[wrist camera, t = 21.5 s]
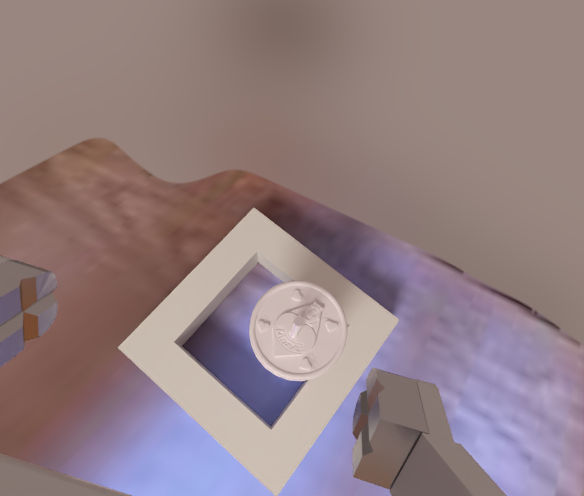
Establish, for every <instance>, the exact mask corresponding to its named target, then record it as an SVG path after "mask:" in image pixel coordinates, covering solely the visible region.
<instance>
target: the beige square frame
mask: <svg viewBox="0 0 584 496" xmlns="http://www.w3.org/2000/svg"><path fill="white" fill-rule="evenodd" d="M258 262H259V263H260V264H261V265H262V266H264V267H265V268H266V269H267V270H269V271H270V272H271V273H272V274H274V275H275V276H276V277H277V278H279V279H280V280H281V281H282V282H288V281H295V280H301V281H308V282H312V283H315V284H317V285H320V286H322V287H323V288H325V289H326V290H328V291H329V292H330V293H331V294H332V295H333V296H334V297H335V298H336V299H337V300H338V302H339V303H340V305H341V307H342V309H343V311H344V313H345V316H346V320H347V327H348V335H347V342H346V345H345V348H344V351H343V353H342V355H341V357H340V358H339V360H338V361H337V362H336V364H335V365H334V366H332V367H331V368H330V369H329V370H328V371H327V372H326V373H324V374H322V375H320V376H319V377H317V378H315V379H310V380H305V381H304V383H303V384H302V385H301V387H300V388H299V389H298V391H297V392H296V393H295V395H294V396H293V398H292V399H291V400H290V402H289V403H288V404H287V406H286V407H285V408H284V410H283V411H282V412H281V414H280V415H279V416H278V418H277V419H276V420H275V422H274V423H273V424H272V426H270V425H269V424H268V423H267V422H266V421H264V420H263V419H262V418H261V417H260V416H259V415H258V414H257V413H256V412H254V411H253V410H252V409H251V408H250V407H249V406H248V405H247V404H246V403H244V402H243V401H242V400H241V399H240V398H239V397H238V396H237V395H236V394H234V393H233V392H232V391H231V390H230V389H229V388H228V387H227V386H226V385H224V384H223V383H222V382H221V381H220V380H219V379H218V378H217V377H216V376H215V375H213V374H212V373H211V372H210V371H209V370H208V369H207V368H206V367H205V366H203V365H202V364H201V363H200V362H199V361H198V360H197V359H196V358H195V357H193V356H192V355H191V354H190V353H189V352H188V351H187V350H186V349H185V348H183V347H182V346H183V345H184V343H185V342H186V341H187V340H188V339H189V338H190V337H191V336H192V335H193V334H194V332H195V331H196V330H197V329H198V328H199V327H200V326H201V325H202V324H203V322H204V321H205V320H206V319H207V318H208V317H209V316H210V315H211V314H212V313H213V311H214V310H215V309H216V308H217V307H218V306H219V305H220V304H221V303H222V301H223V300H224V299H225V298H226V297H227V296H228V295H229V294H230V293H231V292H232V290H233V289H234V288H235V287H236V286H237V285H238V284H239V283H240V282H241V280H242V279H243V278H244V277H245V276H246V275H247V274H248V273H249V272H250V271H251V269H252V268H253V267H254V266H255V265H256V264H257V263H258ZM398 321H399V319H398V318H397V317H395V316H394V315H393V314H391V313H390V312H389V311H387V310H386V309H385V308H384V307H382V306H381V305H380V304H378V303H377V302H376V301H374V300H373V299H372V298H371V297H369V296H368V295H367V294H365V293H364V292H363V291H362V290H360V289H359V288H358V287H356V286H355V285H354V284H352V283H351V282H350V281H349V280H347V279H346V278H345V277H343V276H342V275H341V274H340V273H338V272H337V271H336V270H334V269H333V268H332V267H330V266H329V265H328V264H327V263H325V262H324V261H323V260H321V259H320V258H319V257H317V256H316V255H315V254H314V253H312V252H311V251H310V250H308V249H307V248H306V247H305V246H303V245H302V244H301V243H299V242H298V241H297V240H295V239H294V238H293V237H292V236H290V235H289V234H288V233H286V232H285V231H284V230H282V229H281V228H280V227H279V226H277V225H276V224H275V223H273V222H272V221H271V220H270V219H268V218H267V217H266V216H264V215H263V214H262V213H260V212H259V211H258V210H257V209H255V208H253V209H252V210H251V211H250V212H249V213H248V214H247V215H246V216H245V217H244V218H243V219H242V220H241V221H240V222H239V223H238V224H237V225H236V226H235V228H234V229H233V230H232V231H231V232H230V233H229V234H228V235H227V236H226V237H225V238H224V239H223V240H222V241H221V242H220V243H219V244H218V245H217V246H216V247H215V248H214V249H213V250H212V251H211V252H210V253H209V254H208V255H207V256H206V257H205V258H204V259H203V260H202V261H201V262H200V264H199V265H198V266H197V267H196V268H195V269H194V270H193V271H192V272H191V273H190V274H189V275H188V276H187V277H186V278H185V279H184V280H183V281H182V282H181V283H180V284H179V285H178V286H177V287H176V288H175V289H174V290H173V291H172V292H171V293H170V294H169V295H168V296H167V297H166V299H165V300H164V301H163V302H162V303H161V304H160V305H159V306H158V307H157V308H156V309H155V310H154V311H153V312H152V313H151V314H150V315H149V316H148V317H147V318H146V319H145V320H144V321H143V322H142V323H141V324H140V325H139V326H138V327H137V328H136V329H135V330H134V331H133V332H132V334H131V335H130V336H129V337H128V338H127V339H126V340H125V341H124V342H123V343H122V344H121V345H120V346H119V347H118V348H119V349H120V350H121V351H122V352H123V353H124V354H125V355H126V356H127V357H128V358H130V359H131V360H132V361H133V362H134V363H135V364H136V365H137V366H138V367H139V368H140V369H141V370H142V371H143V372H144V373H145V374H147V375H148V376H149V377H150V378H151V379H152V380H153V381H154V382H155V383H156V384H157V385H158V386H159V387H160V388H161V389H162V390H163V391H165V392H166V393H167V394H168V395H169V396H170V397H171V398H172V399H173V400H174V401H175V402H176V403H177V404H178V405H179V406H180V407H182V408H183V409H184V410H185V411H186V412H187V413H188V414H189V415H190V416H191V417H192V418H193V419H194V420H195V421H196V422H197V423H198V424H200V425H201V426H202V427H203V428H204V429H205V430H206V431H207V432H208V433H209V434H210V435H211V436H212V437H213V438H214V439H215V440H217V441H218V442H219V443H220V444H221V445H222V446H223V447H224V448H225V449H226V450H227V451H228V452H229V453H230V454H231V455H232V456H233V457H235V458H236V459H237V460H238V461H239V462H240V463H241V464H242V465H243V466H244V467H245V468H246V469H247V470H248V471H249V472H250V473H252V474H253V475H254V476H255V477H256V478H257V479H258V480H259V481H260V482H261V483H262V484H263V485H264V486H265V487H266V488H267V489H268V490H270V491H271V492H272V493H273V494H274V495H275V496H277V495H278V494H279V493H280V491H281V490H282V488H283V487H284V485H285V484H286V482H287V481H288V480H289V478H290V477H291V475H292V474H293V472H294V471H295V470H296V468H297V467H298V465H299V464H300V462H301V461H302V459H303V458H304V457H305V455H306V454H307V452H308V451H309V449H310V448H311V447H312V445H313V444H314V442H315V441H316V439H317V438H318V436H319V435H320V434H321V432H322V431H323V429H324V428H325V426H326V425H327V424H328V422H329V421H330V419H331V418H332V416H333V415H334V413H335V412H336V411H337V409H338V408H339V406H340V405H341V403H342V402H343V400H344V399H345V398H346V396H347V395H348V393H349V392H350V390H351V389H352V388H353V386H354V385H355V383H356V382H357V380H358V379H359V377H360V376H361V375H362V373H363V372H364V370H365V369H366V367H367V366H368V365H369V363H370V362H371V360H372V359H373V357H374V356H375V354H376V353H377V352H378V350H379V349H380V347H381V346H382V344H383V343H384V341H385V340H386V339H387V337H388V336H389V334H390V333H391V331H392V330H393V329H394V327H395V326H396V324H397V323H398Z"/></svg>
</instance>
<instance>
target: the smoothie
mask: <svg viewBox="0 0 584 496" xmlns="http://www.w3.org/2000/svg"><path fill="white" fill-rule="evenodd" d="M249 335H250V341H251V346H252V348H253V351H254V353H255V355H256V357H257V359H258V360H259V361H260V362H261V364H262V365H263V366H264V367H265V368H266V369H267V370H269V371H270V372H271V373H273V374H274V375H276V376H278V377H281V378H284V379H286V380H292V381H305V380H310V379H315V378H317V377H319V376H320V375H322V374H324V373H326V372H327V371H328V370H329V369H330V368H331V367H332V366H334V365H335V364H336V362H337V361H338V360H339V358H340V357H341V355H342V353H343V351H344V348H345V345H346V342H347V335H348V327H347V320H346V316H345V313H344V311H343V309H342V307H341V305H340V303H339V302H338V300H337V299H336V298H335V297H334V296H333V295H332V294H331V293H330V292H329V291H328V290H326V289H325V288H323V287H322V286H320V285H317V284H315V283H312V282H308V281H301V280H295V281H288V282H284V283H281V284H278V285H276V286H274V287H273V288H271V289H270V290H268V291H267V292H266V293H265V294H264V295H263V296H262V297H261V298H260V300H259V301H258V302H257V304H256V306H255V308H254V310H253V313H252V316H251V320H250V329H249Z"/></svg>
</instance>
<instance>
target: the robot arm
mask: <svg viewBox="0 0 584 496" xmlns="http://www.w3.org/2000/svg"><path fill="white" fill-rule="evenodd" d="M56 288H57V282H56V275H55V274H53V273H52V272H51V271H48V270H45V269H42V268H39V267H36V266H33V265H29V264H26V263H23V262H20V261H17V260H13V259H10V258H7V257H4V256H0V367H1V366H3V365H4V364H5V363H6V362H8V361H9V360H10V359H12V358H13V357H14V356H15V355H17V354H18V353H19V352H21V351H22V350H23V349H24V346H25V341H28V340H31V339H35V338H38V337H40V336H41V335H42V334H43V333H45V332H46V331H47V330H48V329H49V327H50V326H51V324H52V323H53V321H54V320H55V317H56V313H57V301H56V299H55V298H54V296H53V295H52V292H53V291H54V290H55V289H56ZM366 384H367V390H366V391H364V392H362V393H360V396H359V398H358V401H357V403H356V407H355V412H354V416H353V435H354V436H355V438H356V439H357V441H356V443H355V446H354V448H353V477H355V478H358V479H360V480H363V481H366V482H369V483H372V484H375V485H378V486H381V487H384V488H387V489H390V493H391V495H392V496H506V495H505V493H504V492H503V491H502V490H501V489H500V488H499V487H498V486H497V484H496V483H495V482H494V481H493V480H492V479H491V478H490V477H489V475H488V474H487V473H486V472H485V471H484V470H483V469H482V468H481V466H480V465H479V464H478V463H477V462H476V461H475V460H474V459H473V457H472V456H471V455H470V454H469V453H468V452H467V451H466V450H465V449H464V447H463V446H462V445H461V444H458V443H455V442H454V440H453V437H452V433H451V430H450V427H449V423H448V420H447V417H446V413H445V410H444V407H443V404H442V400H441V397H440V394H439V390H438V388H437V386H436V385H435V384H431V383H428V382H424V381H420V380H417V379H410V378H407V377H404V376H400V375H397V374H393V373H390V372H387V371H383V370H380V369H376V368H372V370H371V371H370V373H369V375H368V377H367V379H366ZM0 496H131V495H128V494H125V493H122V492H119V491H116V490H113V489H110V488H107V487H103V486H100V485H97V484H94V483H91V482H88V481H85V480H82V479H79V478H75V477H72V476H69V475H66V474H63V473H60V472H57V471H54V470H51V469H47V468H44V467H41V466H38V465H35V464H32V463H29V462H26V461H22V460H19V459H16V458H13V457H10V456H7V455H4V454H1V453H0Z"/></svg>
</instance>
